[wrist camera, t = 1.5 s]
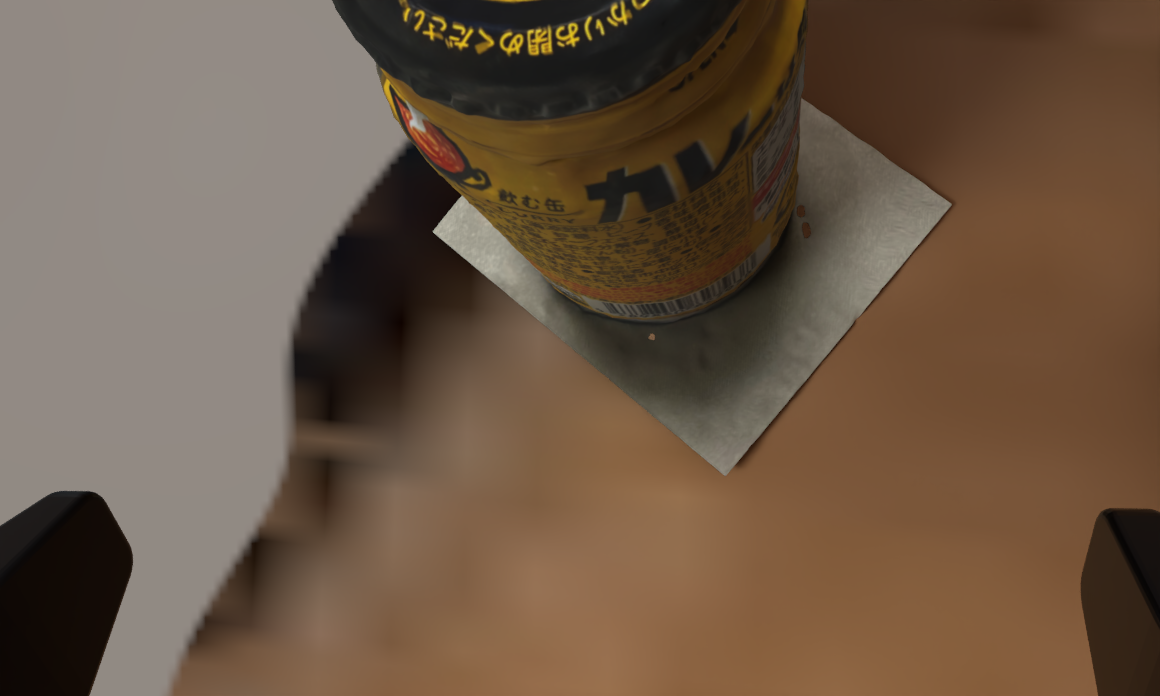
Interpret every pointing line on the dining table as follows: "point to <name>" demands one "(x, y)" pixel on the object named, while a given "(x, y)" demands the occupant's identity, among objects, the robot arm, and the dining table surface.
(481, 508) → the dining table surface
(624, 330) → the condiment
